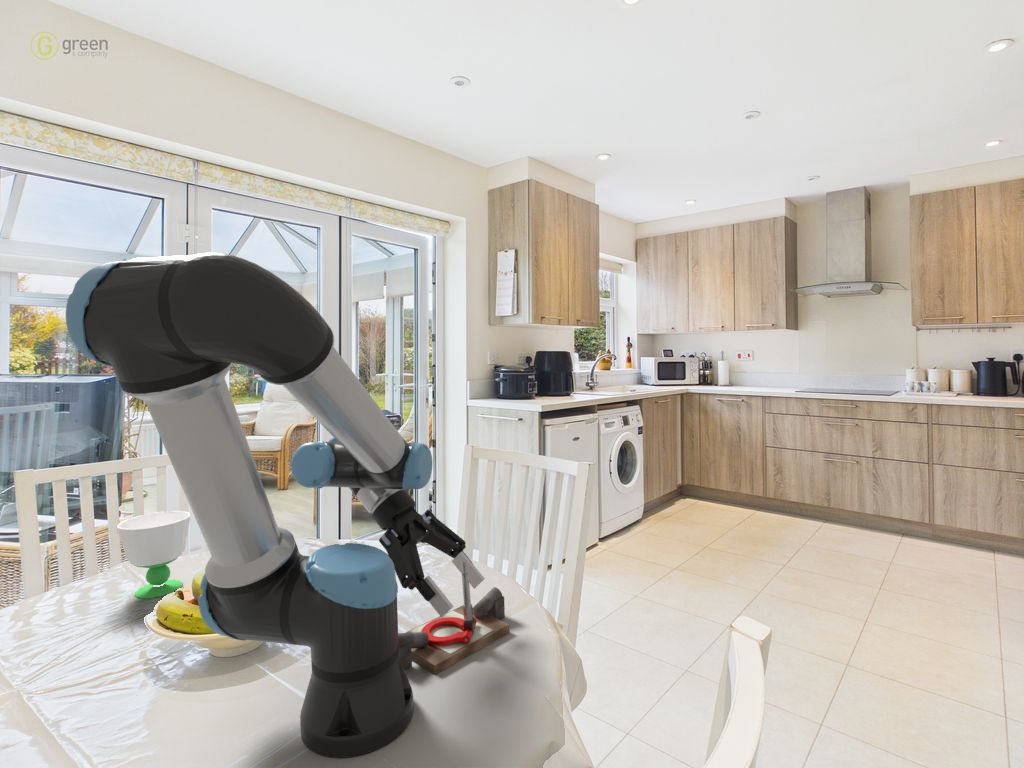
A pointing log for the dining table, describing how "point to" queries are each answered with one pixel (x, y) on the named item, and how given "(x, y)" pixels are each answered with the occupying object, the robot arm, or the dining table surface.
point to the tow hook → (456, 619)
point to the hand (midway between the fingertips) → (464, 597)
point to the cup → (155, 547)
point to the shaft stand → (444, 656)
